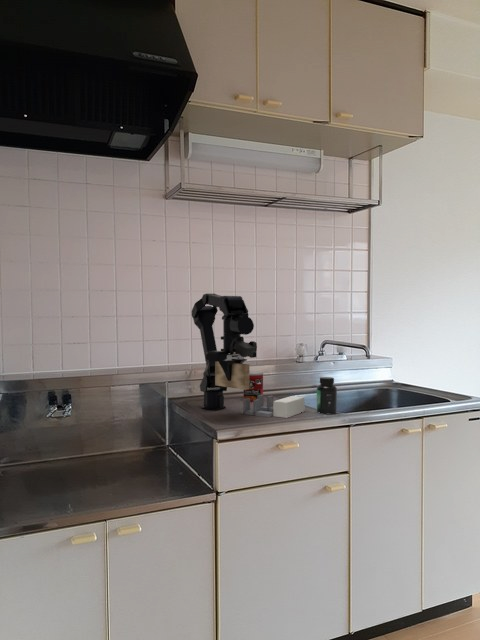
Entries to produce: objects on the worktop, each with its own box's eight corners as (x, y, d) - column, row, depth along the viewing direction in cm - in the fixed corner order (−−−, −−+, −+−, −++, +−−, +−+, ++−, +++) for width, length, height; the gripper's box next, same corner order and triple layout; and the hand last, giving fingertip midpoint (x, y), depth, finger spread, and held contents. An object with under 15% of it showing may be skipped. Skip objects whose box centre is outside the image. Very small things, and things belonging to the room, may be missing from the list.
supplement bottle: (317, 414, 170) (317, 378, 170) (316, 410, 176) (316, 376, 176) (337, 414, 169) (337, 379, 169) (336, 410, 176) (336, 376, 175)
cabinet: (243, 413, 170) (243, 399, 170) (266, 406, 183) (266, 393, 183) (282, 419, 161) (282, 403, 161) (304, 411, 174) (304, 397, 174)
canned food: (241, 401, 194) (241, 373, 193) (246, 398, 201) (246, 371, 201) (260, 402, 192) (260, 373, 192) (264, 399, 200) (264, 371, 199)
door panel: (215, 385, 170) (215, 361, 170) (219, 384, 172) (219, 361, 171) (245, 389, 161) (245, 364, 160) (249, 389, 162) (249, 364, 162)
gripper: (229, 335, 153) (229, 385, 154) (268, 333, 167) (268, 379, 167) (204, 334, 161) (204, 382, 161) (244, 332, 175) (244, 376, 175)
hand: (231, 380), depth 166 cm, fingers closed on door panel, 2 cm apart
